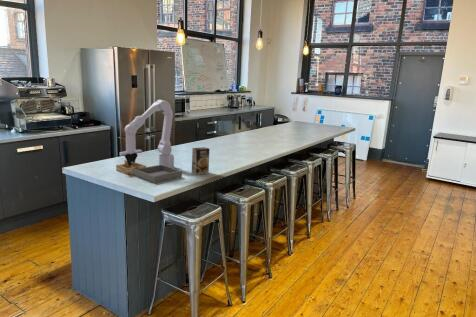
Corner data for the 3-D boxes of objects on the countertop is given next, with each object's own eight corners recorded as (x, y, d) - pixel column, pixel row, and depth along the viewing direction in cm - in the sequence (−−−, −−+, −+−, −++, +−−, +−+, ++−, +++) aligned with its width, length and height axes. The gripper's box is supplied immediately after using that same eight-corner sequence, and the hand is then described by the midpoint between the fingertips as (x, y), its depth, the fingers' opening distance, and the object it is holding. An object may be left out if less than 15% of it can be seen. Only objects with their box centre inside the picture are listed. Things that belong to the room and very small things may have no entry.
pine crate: (134, 167, 236) (134, 158, 234) (146, 171, 227) (146, 162, 226) (116, 170, 226) (116, 161, 225) (127, 174, 218) (127, 165, 217)
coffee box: (196, 175, 224) (197, 149, 220) (191, 172, 229) (191, 147, 225) (209, 173, 229) (209, 148, 225) (203, 171, 234) (204, 146, 230)
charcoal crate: (161, 170, 231) (161, 164, 230) (181, 177, 218) (181, 170, 217) (134, 175, 216) (133, 169, 215) (153, 183, 203) (153, 176, 202)
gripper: (137, 141, 231) (137, 162, 234) (116, 144, 220) (117, 166, 223) (143, 143, 226) (143, 164, 229) (122, 146, 216) (123, 168, 219)
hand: (131, 165), depth 226 cm, fingers closed on pine crate
